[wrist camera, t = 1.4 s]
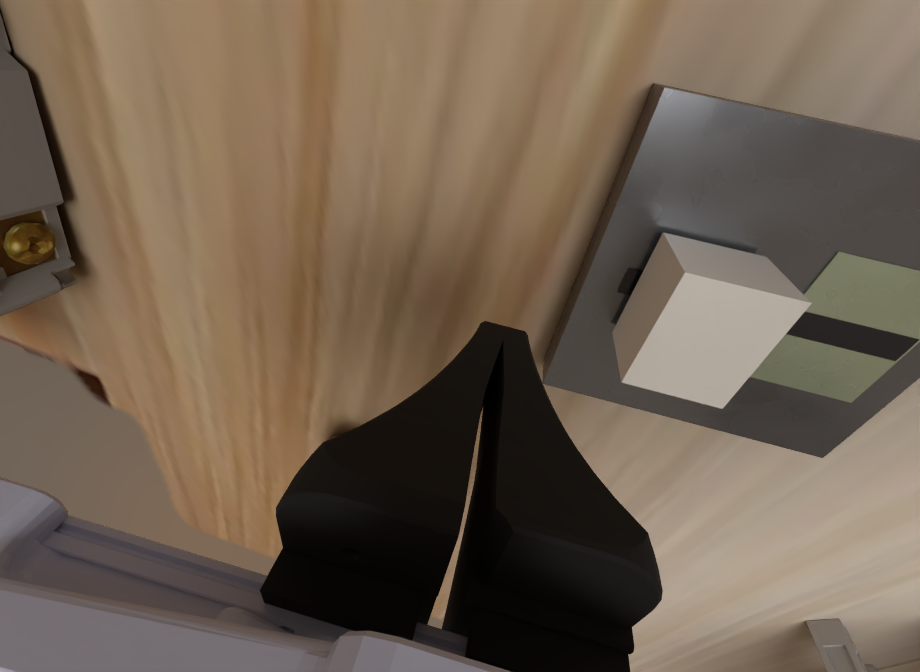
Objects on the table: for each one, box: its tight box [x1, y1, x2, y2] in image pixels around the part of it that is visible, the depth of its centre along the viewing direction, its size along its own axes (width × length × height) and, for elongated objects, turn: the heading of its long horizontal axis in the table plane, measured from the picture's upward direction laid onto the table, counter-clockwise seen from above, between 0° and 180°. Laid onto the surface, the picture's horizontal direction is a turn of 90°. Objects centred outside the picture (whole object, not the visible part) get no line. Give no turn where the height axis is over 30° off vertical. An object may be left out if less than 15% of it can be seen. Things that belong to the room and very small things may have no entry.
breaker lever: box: [612, 232, 812, 409], centre depth 16 cm, size 4×5×4 cm
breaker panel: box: [543, 83, 920, 458], centre depth 18 cm, size 15×14×2 cm
